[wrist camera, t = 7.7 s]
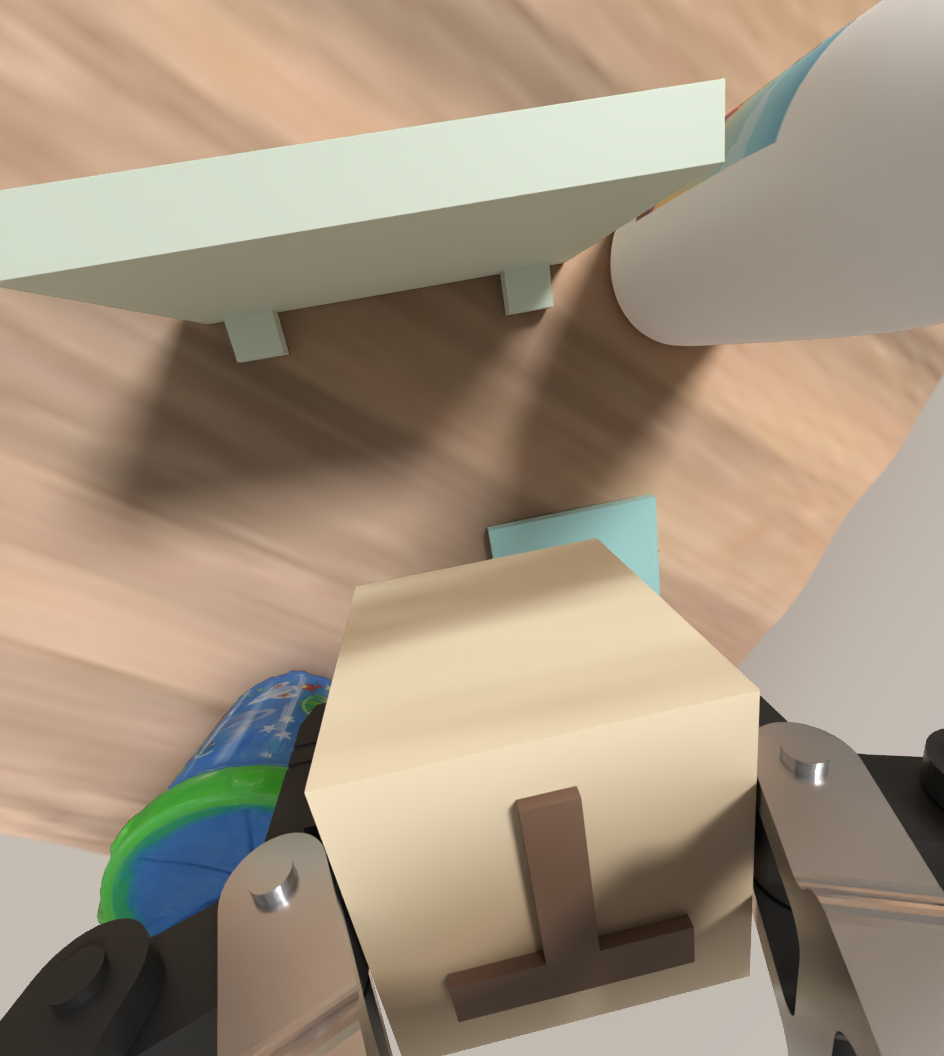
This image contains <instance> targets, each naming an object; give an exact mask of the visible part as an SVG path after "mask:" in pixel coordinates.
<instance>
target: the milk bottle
mask: <svg viewBox="0 0 944 1056" xmlns="http://www.w3.org/2000/svg"><path fill="white" fill-rule="evenodd" d="M610 267H611V278H612V285H613V288H614V292H615V295H616V298H617V301H618V303H619V305H620V307H621V309H622V311H623V313H624V314H625V316H626V317H627V318H628V320H629V321H630V322H631V323H632V324H633V326H634V327H635V328H636V329H638V330H639V331H640V332H641V333H643V334H644V335H645V336H647V337H649V338H651V339H653V340H655V341H657V342H660V343H663V344H667V345H674V346H704V345H725V344H744V343H763V342H780V341H795V340H810V339H826V338H840V337H851V336H861V335H870V334H880V333H889V332H899V331H905V330H910V329H915V328H920V327H925V326H930V325H936V324H941V323H944V0H882V1H881V2H879V3H878V4H877V5H875V6H874V7H872V8H871V9H869V10H868V11H867V12H865V13H864V14H862V15H861V16H859V17H858V18H857V19H855V20H854V21H852V22H851V23H850V24H848V25H847V26H845V27H844V28H842V29H841V30H840V31H838V32H837V33H835V34H834V35H832V36H831V37H830V38H828V39H827V40H825V41H824V42H823V43H821V44H820V45H818V46H817V47H816V48H814V49H813V50H812V51H810V52H809V53H808V54H806V55H805V56H804V57H802V58H801V59H800V60H798V61H797V62H796V63H795V64H793V65H792V66H791V67H789V68H788V69H787V70H785V71H784V72H783V73H781V74H780V75H779V76H777V77H776V78H775V79H773V80H772V81H771V82H769V83H768V84H767V85H765V86H764V87H763V88H761V89H760V90H759V91H757V92H756V93H755V94H753V95H752V96H751V97H749V98H748V99H747V100H746V101H744V102H743V103H742V104H740V105H739V106H738V107H736V108H735V109H734V110H733V111H731V112H730V113H729V114H727V115H726V116H725V162H723V163H722V164H720V165H718V166H717V167H715V168H714V169H712V170H711V171H709V172H707V173H706V174H704V175H703V176H701V177H700V178H698V179H696V180H695V181H693V182H692V183H690V184H688V185H687V186H685V187H684V188H682V189H681V190H679V191H677V192H676V193H674V194H673V195H671V196H669V197H668V198H666V199H665V200H663V201H662V202H660V203H658V204H657V205H655V206H654V207H652V208H651V209H649V210H647V211H646V212H644V213H643V214H641V215H639V216H638V217H636V218H635V219H633V220H632V221H630V222H628V223H627V224H625V225H624V226H622V227H620V228H619V229H617V230H616V231H615V233H614V237H613V242H612V248H611V262H610Z"/></svg>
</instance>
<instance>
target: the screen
mask: <svg viewBox="0 0 944 1056" xmlns="http://www.w3.org/2000/svg"><path fill="white" fill-rule="evenodd" d="M723 162H725V78H724V79H718V80H711V81H705V82H698V83H692V84H686V85H679V86H673V87H666V88H660V89H653V90H647V91H640V92H634V93H627V94H621V95H614V96H608V97H601V98H595V99H588V100H582V101H575V102H569V103H562V104H556V105H549V106H543V107H536V108H530V109H523V110H517V111H511V112H504V113H498V114H491V115H485V116H478V117H472V118H465V119H459V120H452V121H446V122H439V123H433V124H426V125H420V126H413V127H407V128H400V129H394V130H387V131H381V132H374V133H368V134H361V135H355V136H349V137H342V138H336V139H329V140H323V141H316V142H310V143H303V144H297V145H290V146H284V147H277V148H271V149H264V150H258V151H251V152H245V153H238V154H232V155H225V156H219V157H212V158H206V159H199V160H193V161H187V162H180V163H174V164H167V165H161V166H154V167H148V168H141V169H135V170H128V171H122V172H115V173H109V174H102V175H96V176H89V177H83V178H76V179H70V180H63V181H57V182H50V183H44V184H37V185H31V186H24V187H18V188H12V189H5V190H0V287H2V288H8V289H13V290H19V291H24V292H30V293H36V294H41V295H47V296H52V297H58V298H63V299H69V300H75V301H80V302H86V303H91V304H97V305H103V306H108V307H114V308H119V309H125V310H130V311H136V312H142V313H147V314H153V315H158V316H164V317H169V318H175V319H181V320H186V321H192V322H197V323H203V324H208V325H209V324H214V323H220V322H225V325H226V328H227V331H228V335H229V338H230V341H231V344H232V347H233V350H234V354H235V357H236V360H237V362H249V361H255V360H260V359H266V358H271V357H277V356H283V355H288V354H289V351H288V348H287V344H286V341H285V337H284V334H283V330H282V327H281V323H280V319H279V316H278V312H284V311H289V310H295V309H301V308H307V307H312V306H318V305H324V304H330V303H336V302H341V301H347V300H353V299H359V298H364V297H370V296H376V295H382V294H387V293H393V292H399V291H405V290H411V289H416V288H422V287H428V286H434V285H439V284H445V283H451V282H457V281H463V280H468V279H474V278H480V277H486V276H491V275H497V274H500V277H501V284H502V292H503V299H504V307H505V314H506V316H507V315H513V314H518V313H524V312H529V311H535V310H541V309H546V308H550V307H552V306H554V304H553V295H552V285H551V275H550V266H549V265H555V264H561V263H565V262H567V261H568V260H570V259H571V258H573V257H575V256H576V255H578V254H579V253H581V252H583V251H584V250H586V249H587V248H589V247H590V246H592V245H594V244H595V243H597V242H598V241H600V240H601V239H603V238H605V237H606V236H608V235H609V234H611V233H613V232H614V231H616V230H617V229H619V228H620V227H622V226H624V225H625V224H627V223H628V222H630V221H632V220H633V219H635V218H636V217H638V216H639V215H641V214H643V213H644V212H646V211H647V210H649V209H651V208H652V207H654V206H655V205H657V204H658V203H660V202H662V201H663V200H665V199H666V198H668V197H669V196H671V195H673V194H674V193H676V192H677V191H679V190H681V189H682V188H684V187H685V186H687V185H688V184H690V183H692V182H693V181H695V180H696V179H698V178H700V177H701V176H703V175H704V174H706V173H707V172H709V171H711V170H712V169H714V168H715V167H717V166H718V165H720V164H722V163H723Z"/></svg>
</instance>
